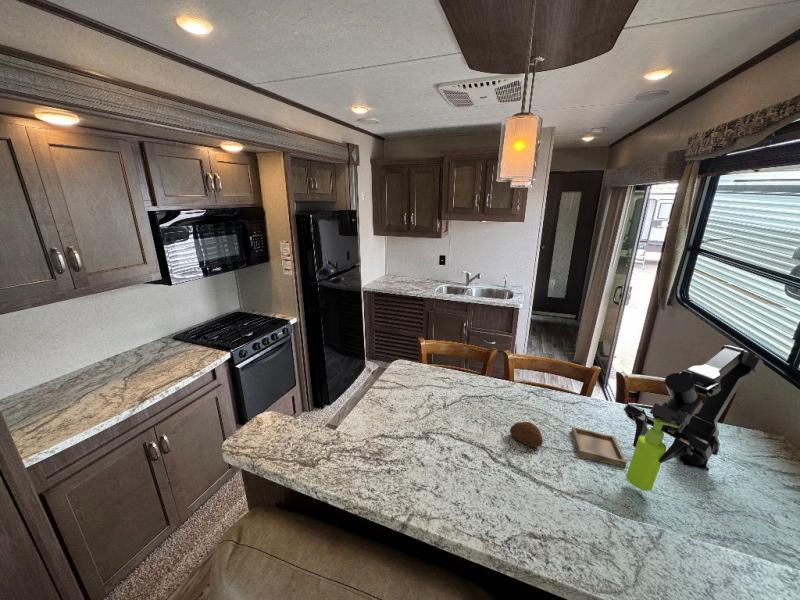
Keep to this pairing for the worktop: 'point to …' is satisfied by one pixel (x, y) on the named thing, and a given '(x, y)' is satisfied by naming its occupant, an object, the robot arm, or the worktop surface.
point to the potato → (527, 434)
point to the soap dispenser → (647, 456)
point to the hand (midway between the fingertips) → (646, 454)
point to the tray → (598, 446)
